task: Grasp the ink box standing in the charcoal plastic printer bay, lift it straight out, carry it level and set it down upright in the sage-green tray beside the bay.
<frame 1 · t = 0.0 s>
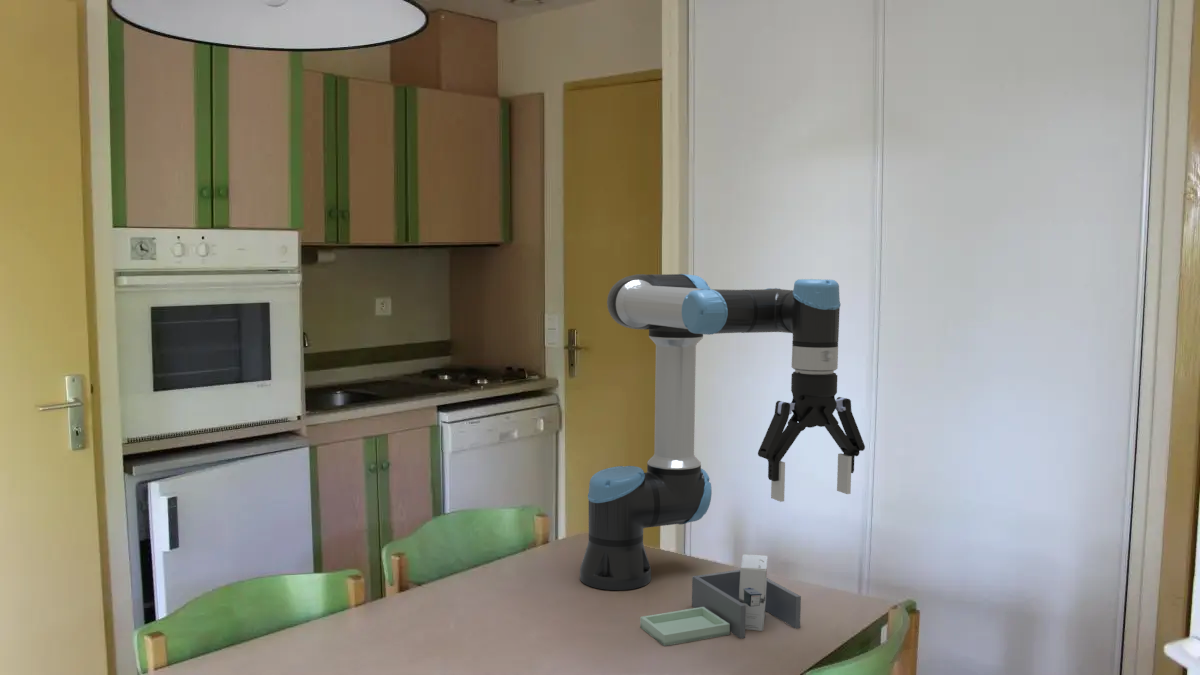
hand: (811, 496, 161), 28 cm above the table, fingers open, 13 cm apart
printer bay: (745, 617, 181), on the table
ink box: (752, 623, 179), on the table
tray: (684, 631, 174), on the table
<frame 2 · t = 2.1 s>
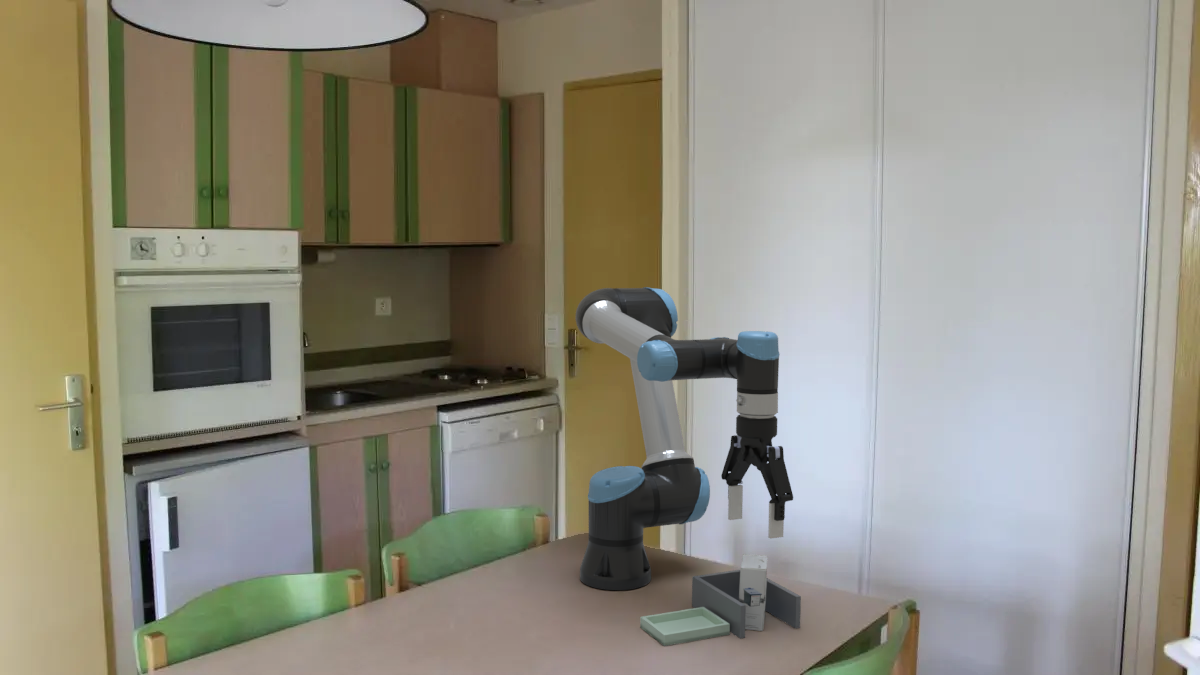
hand: (754, 528, 178), 18 cm above the table, fingers open, 13 cm apart
nothing on the table moved.
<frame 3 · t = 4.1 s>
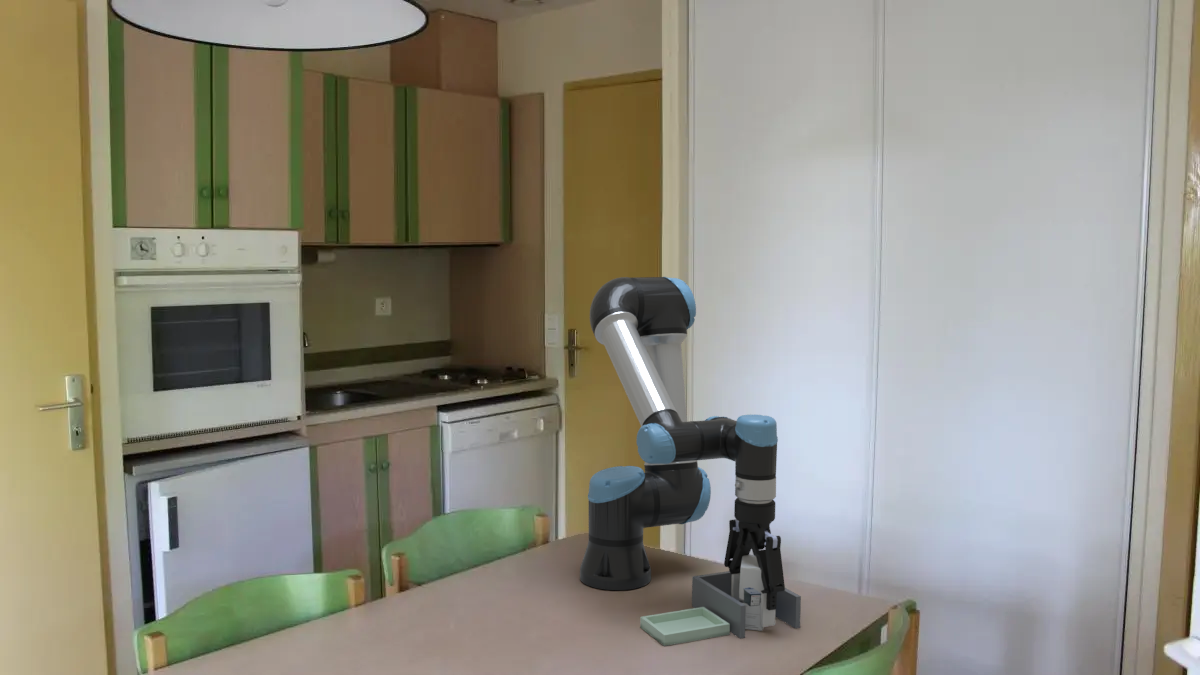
hand: (752, 615, 179), 1 cm above the table, fingers closed on ink box, 9 cm apart
ink box: (752, 622, 179), on the table, touching gripper
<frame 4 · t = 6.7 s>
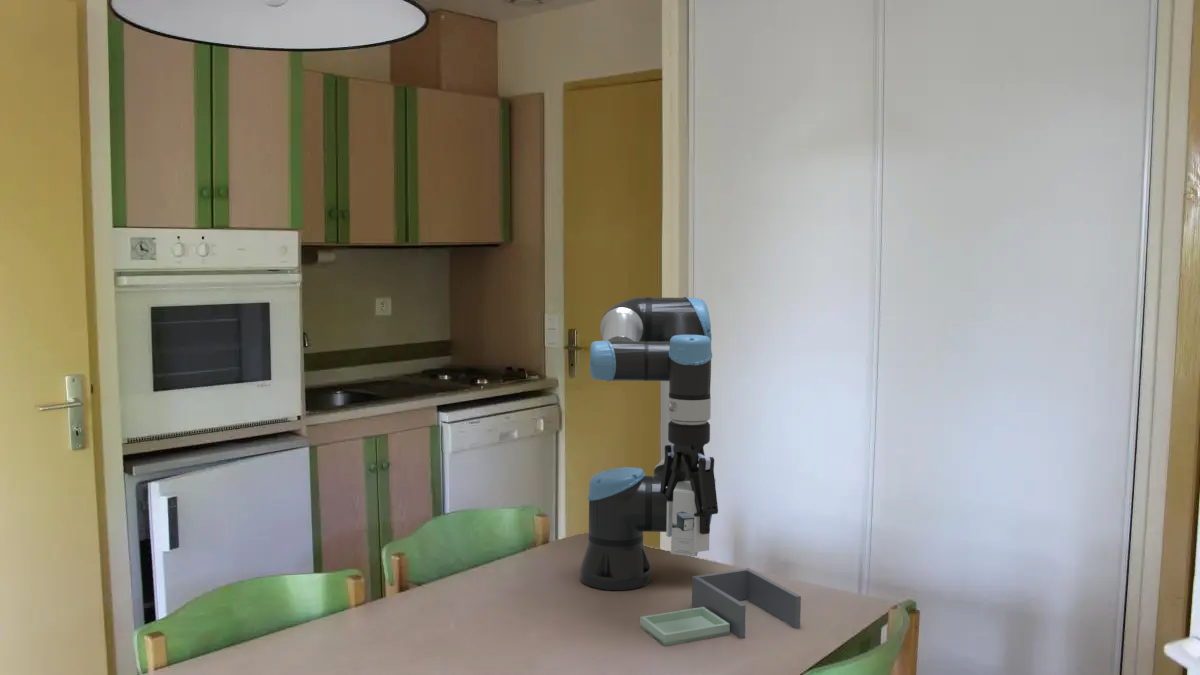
hand: (687, 542, 173), 16 cm above the table, fingers closed on ink box, 9 cm apart
ink box: (687, 550, 173), point 15 cm above the table, touching gripper
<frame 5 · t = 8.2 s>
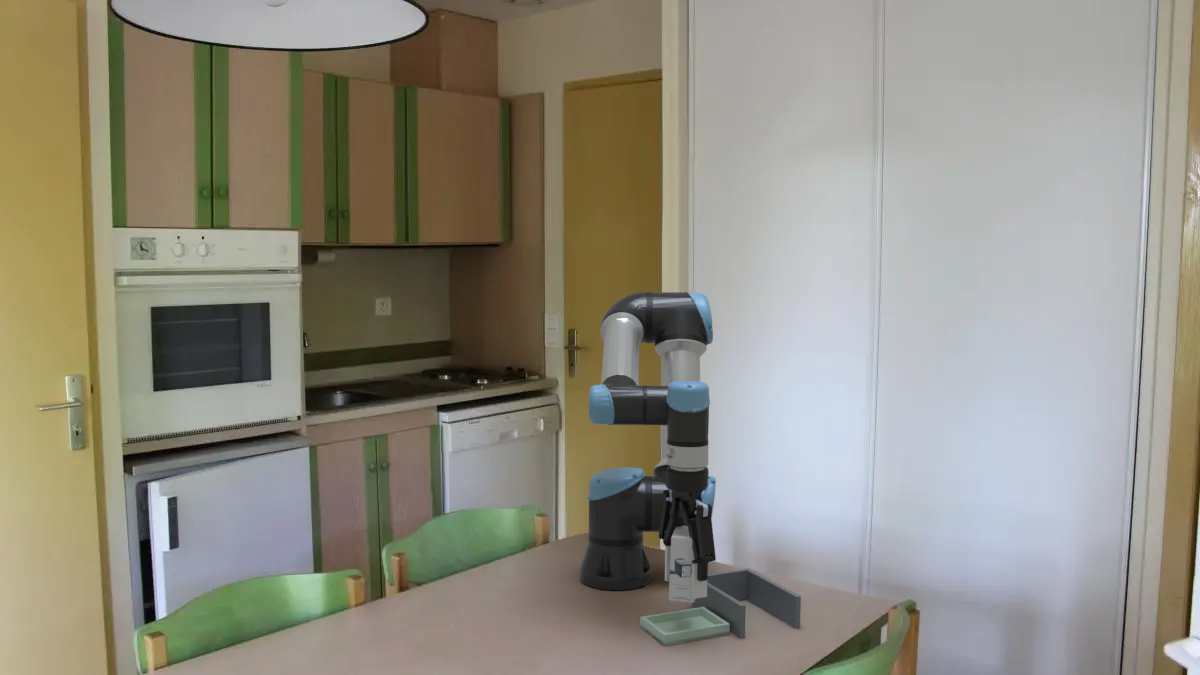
hand: (685, 588, 174), 8 cm above the table, fingers closed on ink box, 9 cm apart
ink box: (685, 595, 174), point 7 cm above the table, touching gripper
when the fingers open (3 cm above the table, at t = 9.6 s): ink box stays where it is, resting on tray.
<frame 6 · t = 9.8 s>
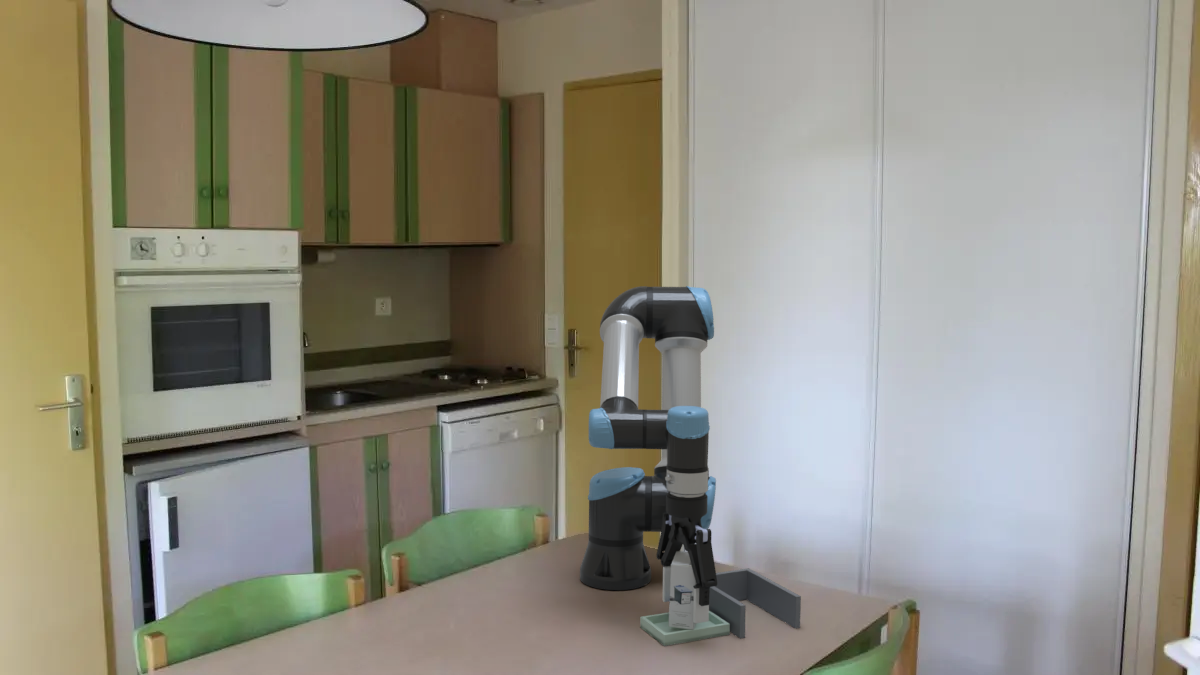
hand: (684, 610, 174), 4 cm above the table, fingers open, 11 cm apart
ink box: (684, 621, 174), point 2 cm above the table, touching tray
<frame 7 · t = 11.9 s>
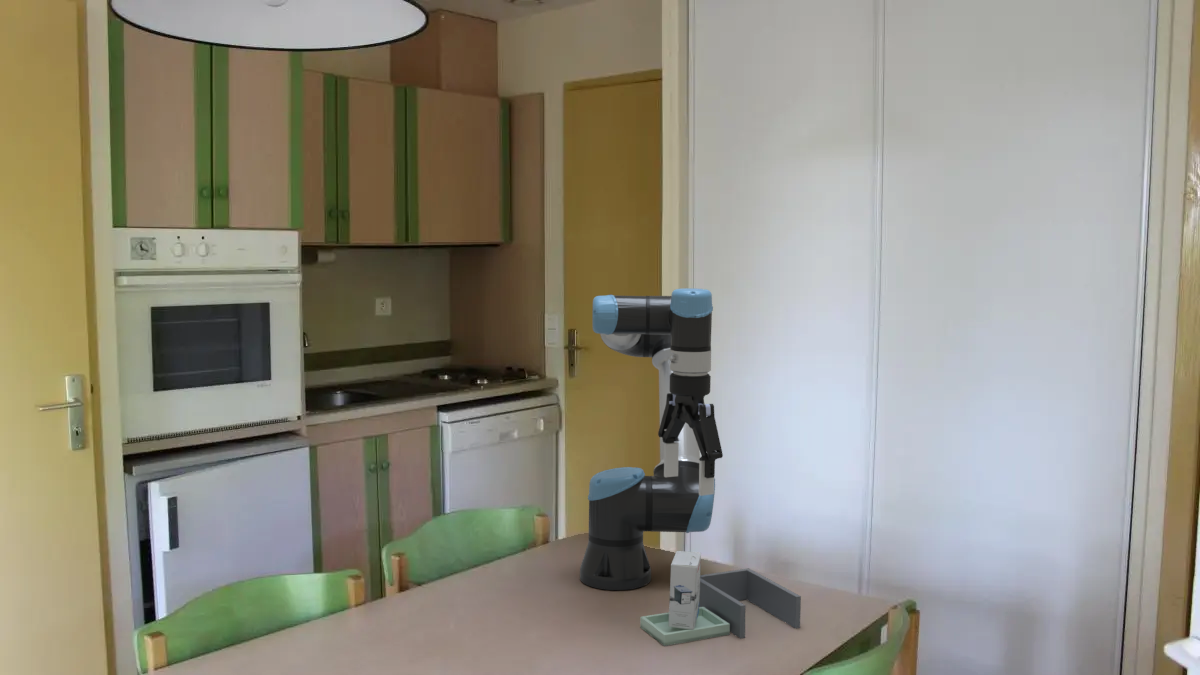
hand: (688, 485, 178), 26 cm above the table, fingers open, 13 cm apart
nothing on the table moved.
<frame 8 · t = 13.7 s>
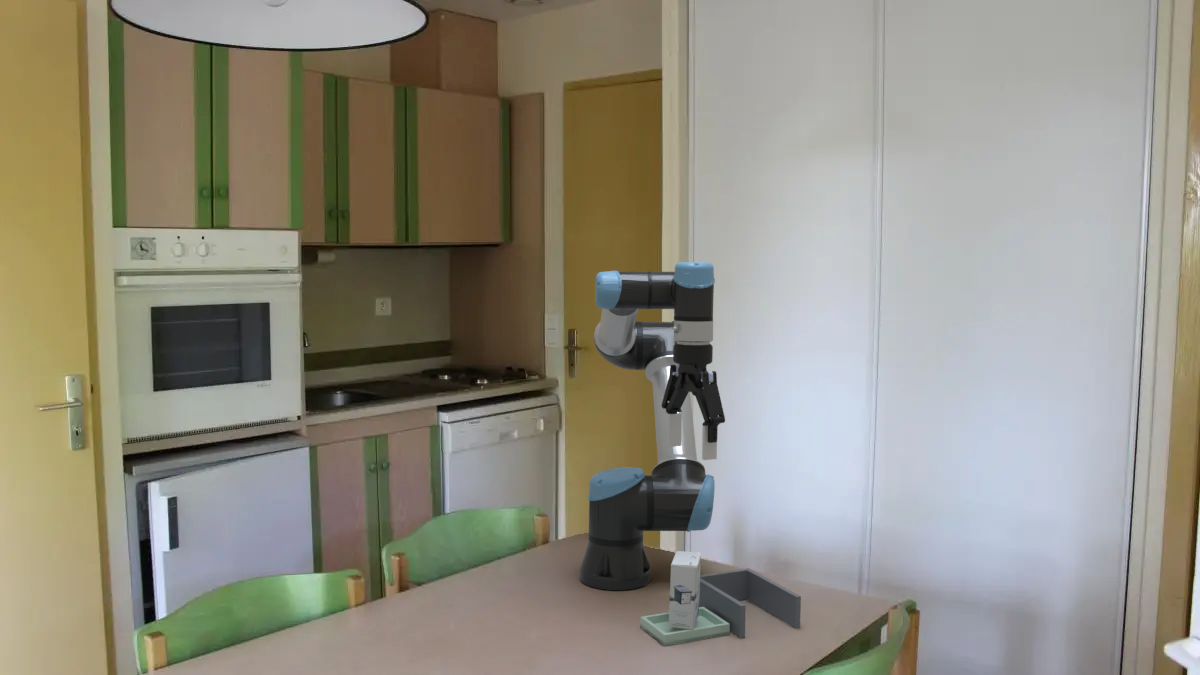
hand: (691, 452, 184), 31 cm above the table, fingers open, 13 cm apart
nothing on the table moved.
at the end: ink box inside the target area on the tray (0.0 cm from its centre), point 1.8 cm above the tray's base; ink box tilted 0°; the gripper is holding nothing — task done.
